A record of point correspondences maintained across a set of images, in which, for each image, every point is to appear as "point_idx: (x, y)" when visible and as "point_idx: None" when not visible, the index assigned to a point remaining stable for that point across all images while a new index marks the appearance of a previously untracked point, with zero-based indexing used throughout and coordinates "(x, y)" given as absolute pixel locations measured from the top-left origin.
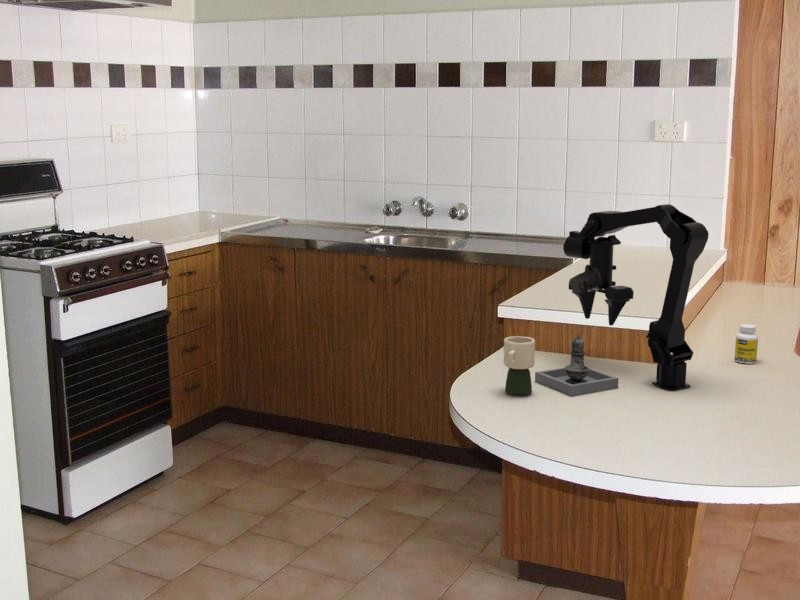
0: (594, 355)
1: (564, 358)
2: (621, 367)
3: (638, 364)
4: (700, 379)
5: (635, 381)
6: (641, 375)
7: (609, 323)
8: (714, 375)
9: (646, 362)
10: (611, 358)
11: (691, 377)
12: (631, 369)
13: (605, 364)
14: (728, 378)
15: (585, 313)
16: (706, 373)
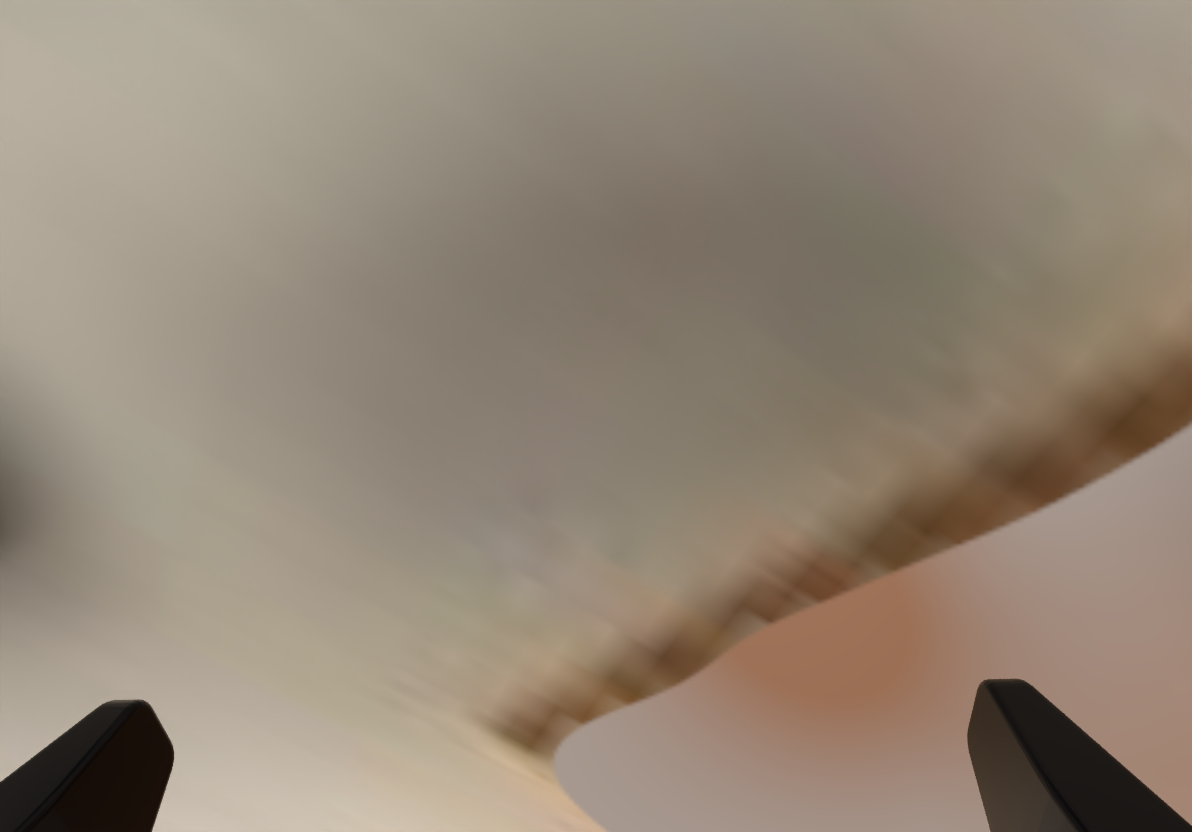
0: (981, 515)
1: (1120, 182)
2: (503, 478)
3: (533, 629)
4: (35, 714)
5: (12, 310)
6: (207, 468)
7: (87, 727)
8: None
9: (559, 698)
10: (803, 572)
11: (92, 701)
12: (412, 508)
13: (658, 420)
14: None
15: (1058, 786)
16: (175, 805)
